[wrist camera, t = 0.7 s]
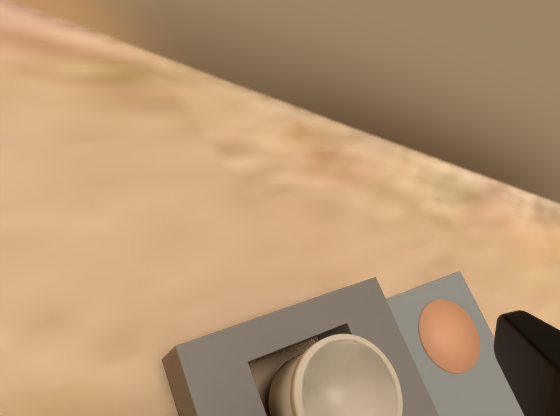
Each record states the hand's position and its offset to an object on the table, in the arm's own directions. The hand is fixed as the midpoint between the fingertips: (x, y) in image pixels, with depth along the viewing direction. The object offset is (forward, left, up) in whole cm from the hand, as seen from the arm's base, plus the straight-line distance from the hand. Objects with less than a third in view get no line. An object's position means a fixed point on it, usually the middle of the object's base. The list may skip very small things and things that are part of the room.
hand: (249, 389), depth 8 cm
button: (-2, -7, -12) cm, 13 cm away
